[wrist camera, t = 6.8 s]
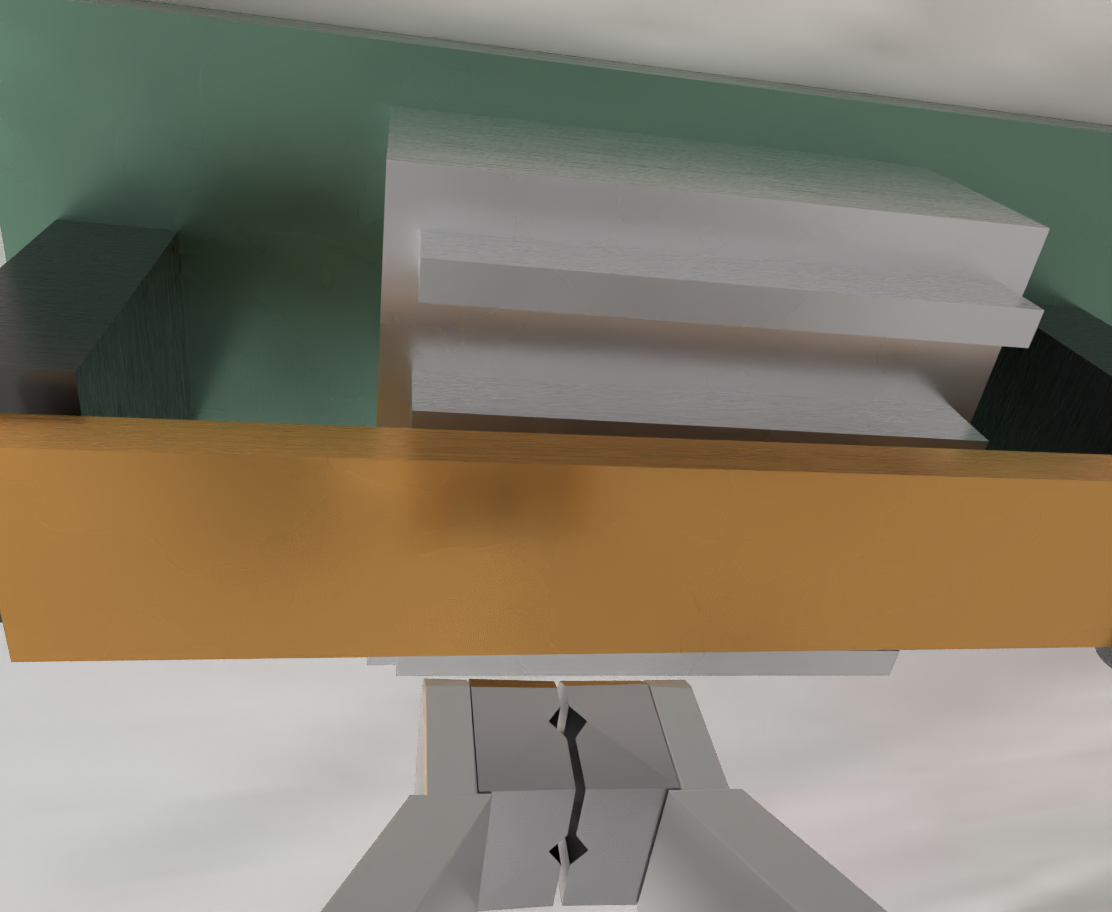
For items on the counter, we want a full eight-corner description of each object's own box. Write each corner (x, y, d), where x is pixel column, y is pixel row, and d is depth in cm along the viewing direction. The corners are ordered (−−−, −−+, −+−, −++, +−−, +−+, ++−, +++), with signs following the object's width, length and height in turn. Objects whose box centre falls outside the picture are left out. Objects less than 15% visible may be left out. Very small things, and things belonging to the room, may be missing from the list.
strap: (1248, 437, 14) (1321, 481, 13) (1133, 632, 16) (1188, 684, 15) (-16, 381, 11) (-63, 437, 9) (36, 642, 12) (1, 713, 11)
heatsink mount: (1193, 136, 19) (1550, 237, 13) (997, 557, 24) (1186, 765, 18) (-11, -19, 15) (-297, 26, 9) (77, 533, 20) (-63, 792, 14)
